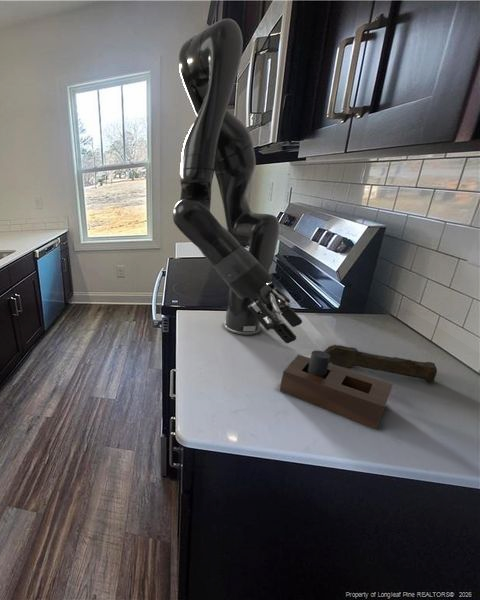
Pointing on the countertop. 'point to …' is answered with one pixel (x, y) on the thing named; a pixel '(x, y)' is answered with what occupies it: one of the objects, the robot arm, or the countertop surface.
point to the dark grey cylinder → (319, 363)
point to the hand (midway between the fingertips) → (295, 332)
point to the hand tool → (381, 362)
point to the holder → (338, 391)
